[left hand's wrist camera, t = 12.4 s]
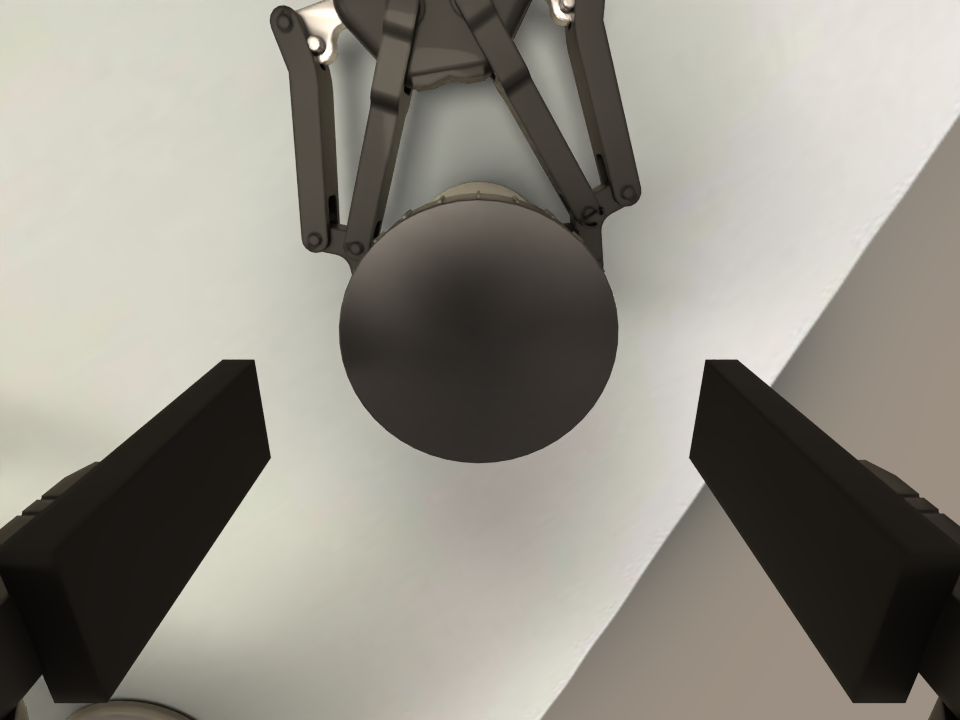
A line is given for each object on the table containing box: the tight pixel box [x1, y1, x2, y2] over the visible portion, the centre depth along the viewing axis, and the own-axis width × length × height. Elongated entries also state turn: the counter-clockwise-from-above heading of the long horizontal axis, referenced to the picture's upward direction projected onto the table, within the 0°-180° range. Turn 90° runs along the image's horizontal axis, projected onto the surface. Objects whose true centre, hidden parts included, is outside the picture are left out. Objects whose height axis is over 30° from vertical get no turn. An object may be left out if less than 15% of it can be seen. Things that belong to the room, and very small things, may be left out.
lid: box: [339, 191, 618, 463], centre depth 19 cm, size 9×9×2 cm
